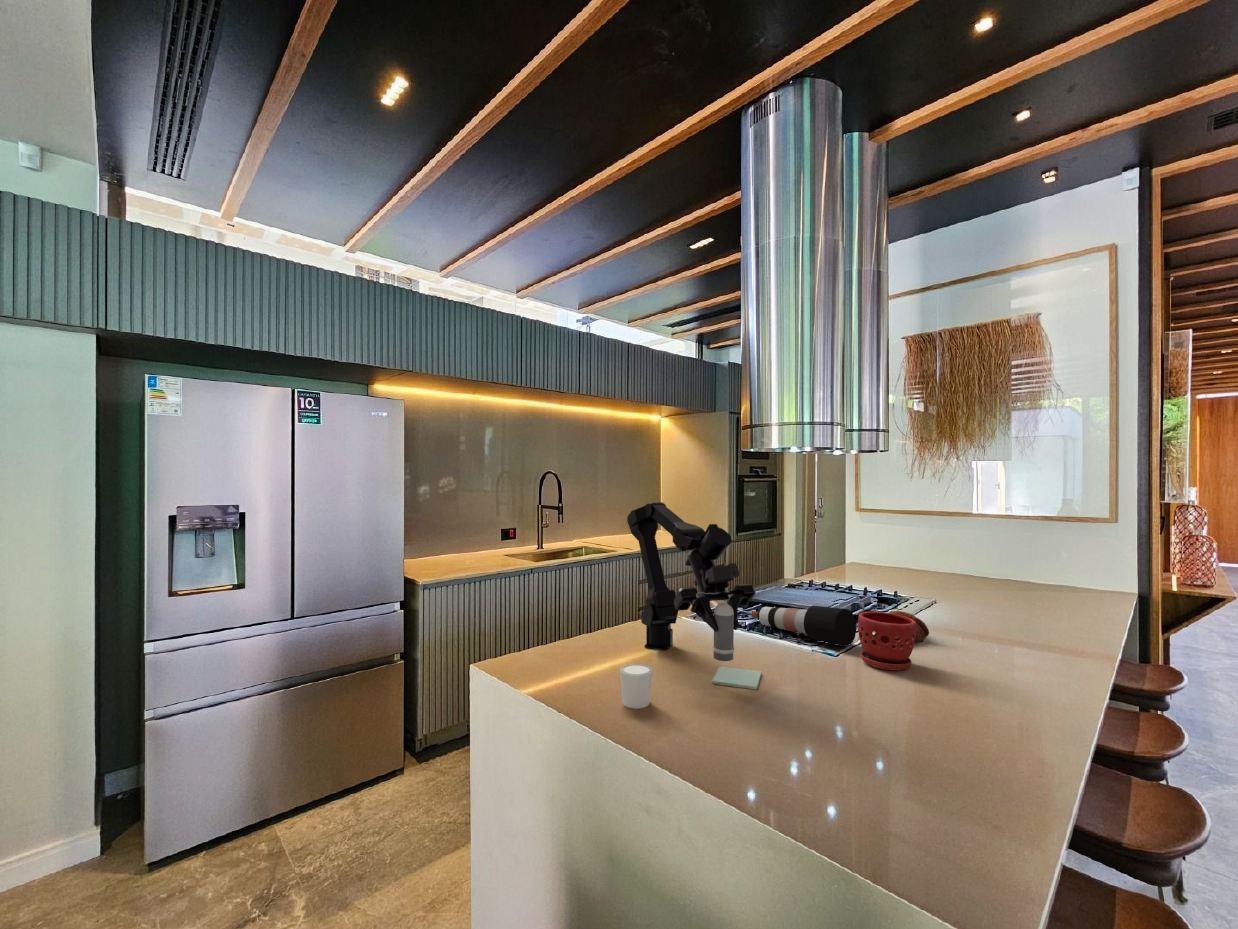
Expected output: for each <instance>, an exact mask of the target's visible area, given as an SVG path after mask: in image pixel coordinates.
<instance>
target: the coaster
mask: <svg viewBox="0 0 1238 929" xmlns="http://www.w3.org/2000/svg"><path fill="white" fill-rule="evenodd" d="M761 677H762V671H761V670H752V669H746V668H745V669H743V668H736V667H727V666H719V667H718V668H717V670H716V672H715V673H714V677H713V678H712V680H711V683H712V685H719V686H721V685H722V686H726V687H727V686H728V687H736V688H743V689H750V690H758V687H759V683H760V680H761Z"/></svg>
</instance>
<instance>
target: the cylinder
mask: <svg viewBox="0 0 1238 929" xmlns="http://www.w3.org/2000/svg"><path fill="white" fill-rule="evenodd" d="M713 615H714V617H715V620H716V623H717V626H718V631H717V632H715V631H714V630H713V646H712V651H713V659H714V660H717V661H720V662H731V661H733V660H734V653H735V647H734V646H735V645H734V644H735V643H734V639H735V638H734V635H735V633H734V631H735V630H734V612H733V609H732V607H731V606H730V605H728V604H726V603H725V602H724V603H723V602H722V603H719V604H717V605H716V606H715V608H714V609H713Z"/></svg>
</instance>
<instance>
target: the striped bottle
mask: <svg viewBox="0 0 1238 929" xmlns="http://www.w3.org/2000/svg"><path fill="white" fill-rule="evenodd" d="M750 616H751V618H754V619H759V622H760V624H761V625H762V626H764V625H765V626H764V627H769V626H771V627H770V628H773V627H775V629H779V630H782V629H784V630H783V631H787V632H789V631H792V632H791V633H795V632H799V633H798V634H801V633H803V635H806V637H808V639H809V638H810V639H814V640H818V641H824V642H828V643H832V644H831V645H834V644H838V645H837V646H840V645H842V646H841V647H846V646H845V645H849V644H850V645H851V644H853V642H854V641H855V638H856V635H857V621H856V618H855V615H854V613H853V612H852V611H851V610H850V609H848V608H843V607H842V608H840V607H831V606H823V605H821V606H820V605H811V606H810V607H808V608H807V609H803V608H802V609H801V608H796V607H795V608H794V607H787V608H786V607H772V606H771V607H770V606H763V607H762V608H761V609H760V611H754V610H753V611H751V613H750ZM810 639H809V640H810ZM828 643H827V644H828ZM850 645H849V646H850Z"/></svg>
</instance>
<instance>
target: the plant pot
mask: <svg viewBox="0 0 1238 929" xmlns="http://www.w3.org/2000/svg"><path fill="white" fill-rule="evenodd" d="M857 619H858V620H857V624H858V625H857V630H858V638H859V642H860V645H861V648H862V649H863V650H862V651H861V652H860V654H859V656H860V659H862V661H863V662H864V663H866V664H867V665H869V666H873V667H872V668H878V669H882V670H887V671H901V670H906V669H908V668H909V667H910V666H911V665H912V659H911V658H910V656H911V655H912V653H913V651H914V647H915V644H914V642H915V636H916V622H915V621H914V620H913V619H911V618H908V617H905V616H901V615H897V614H891V613H889V612H882V611H864V612H860V613H859V614H858V618H857ZM894 623H896V624H894ZM873 632H874V634H873ZM896 636H899V637H900V638H898V639H897V638H895V637H896Z"/></svg>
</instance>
